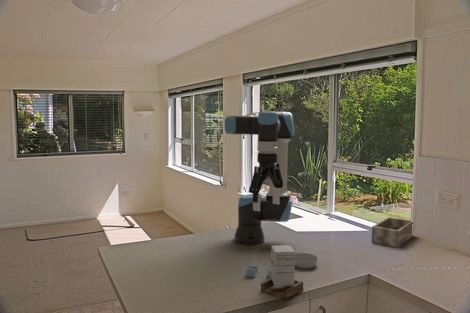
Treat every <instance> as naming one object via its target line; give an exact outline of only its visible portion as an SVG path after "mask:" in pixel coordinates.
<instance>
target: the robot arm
mask: <svg viewBox="0 0 470 313" xmlns="http://www.w3.org/2000/svg"><path fill="white" fill-rule="evenodd" d="M293 117H294V116H293V114H292V113H291V112H288V111H269V110H267V111H263V110H262V111H256V112H251V113H247V114H245V115H227V116H226V117H225V119H224V131H225V133H226V134H228V135H250V136H251V135H252V136H253V135H255V136H257V146H256V147H257V149H256V150H257V151H258V153H257V154H256V156H257V159H256V160H257V161H256V162H257V163H258V164H259V166H254V168H253V175H252V178H251V182H250V185H249V189H248V192H249V194H248V193H247V194H244V195H241V196H240V197H239V198H238V203H237V204H238V205H237V208H238V210H237V211H238V212H237V228H236V230H235V232H234V233H235V234H234V241H235V240H236V241H237V242H240V243H244V244H243V245H247V244H250V246H253V245H260V244H262V243H265V241H266V240H265V238H266V237H265V233H264V231H263V227H262V226H263V225H262V222H276V223H277V222H278V223H287V222H289V220H290V218H291V212H292V206H293V198H291V197H290V196H291V194H289V192H288V190H287V189H288V187H287V186H288V155H289V152H288V151H289V149H288V147H289V142H290V141H291V140H292V137H294V136H295V127H294V125H295V124H294V118H293ZM267 178H269V188H268V192H266V195H265V197H264V196H263V195H262V194H261V193H260V191H261V189H262V187H263V185H264V182H265V180H267ZM236 241H235V242H236ZM237 242H236V243H237ZM240 243H239V244H240ZM251 244H252V245H251Z"/></svg>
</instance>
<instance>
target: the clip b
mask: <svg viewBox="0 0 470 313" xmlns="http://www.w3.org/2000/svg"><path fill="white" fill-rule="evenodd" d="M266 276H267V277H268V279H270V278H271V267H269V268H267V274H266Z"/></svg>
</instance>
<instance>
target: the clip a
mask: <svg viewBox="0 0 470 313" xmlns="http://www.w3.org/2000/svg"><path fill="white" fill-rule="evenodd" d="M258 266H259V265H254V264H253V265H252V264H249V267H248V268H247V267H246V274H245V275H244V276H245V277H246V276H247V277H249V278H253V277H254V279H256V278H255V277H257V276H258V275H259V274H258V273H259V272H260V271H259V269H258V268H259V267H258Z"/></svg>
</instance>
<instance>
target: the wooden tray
mask: <svg viewBox="0 0 470 313" xmlns="http://www.w3.org/2000/svg"><path fill="white" fill-rule="evenodd" d="M303 290H304V281H303V280H299V279H296V278H294V286H274V283H273V281H272V279H271V278H267V279H266V280H264V281H262V282H260V292H262V293H264V294H265V293H266V294H268V295H271V296H275V297H278V298H280V299H282V300H283V299H284V300H285V301H286V300H287V301H288V300H290V299H291V298H293V297H294V296H296V295H297V294H299V293H300V292H302V291H303Z"/></svg>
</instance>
